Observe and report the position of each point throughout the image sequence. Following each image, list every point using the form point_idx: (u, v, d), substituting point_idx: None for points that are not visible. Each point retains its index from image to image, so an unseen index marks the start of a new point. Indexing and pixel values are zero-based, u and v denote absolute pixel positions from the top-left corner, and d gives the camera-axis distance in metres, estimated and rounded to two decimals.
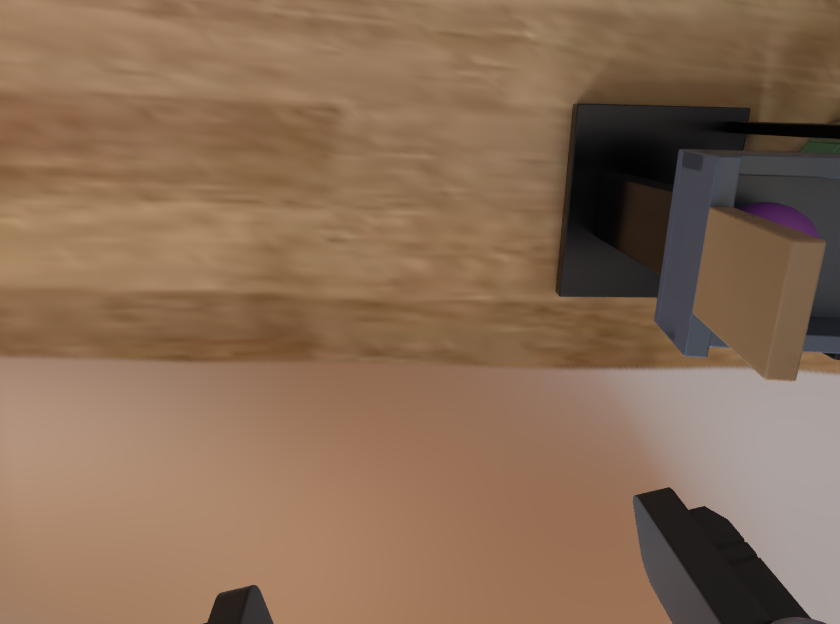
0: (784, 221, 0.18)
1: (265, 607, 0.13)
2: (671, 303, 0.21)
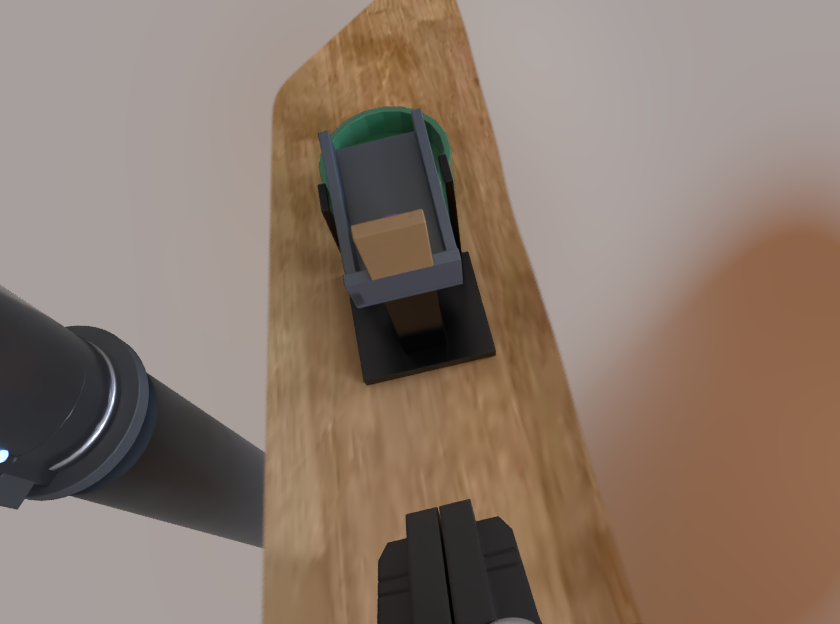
0: None
1: None
2: (440, 278, 0.33)
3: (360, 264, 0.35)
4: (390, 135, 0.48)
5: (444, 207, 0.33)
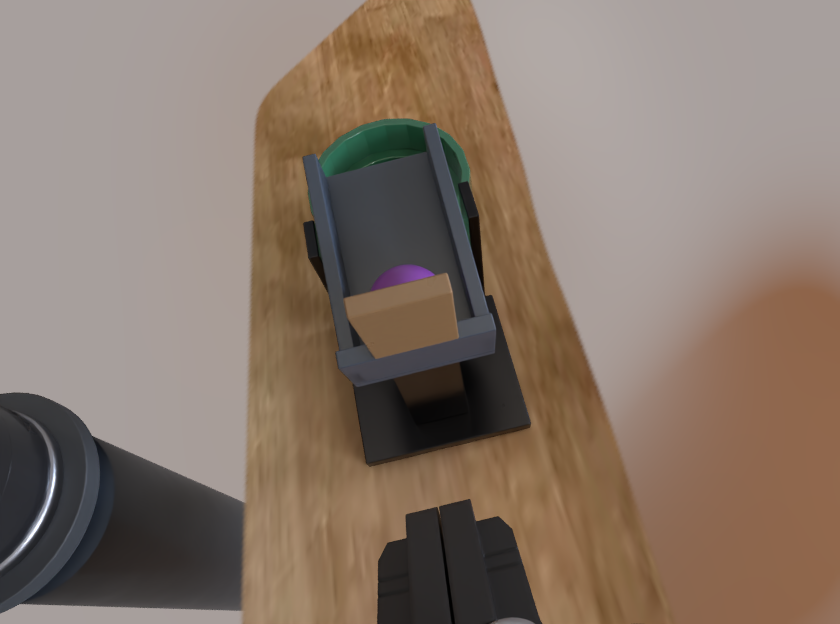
0: None
1: None
2: (467, 350, 0.25)
3: None
4: (394, 153, 0.40)
5: (470, 254, 0.25)
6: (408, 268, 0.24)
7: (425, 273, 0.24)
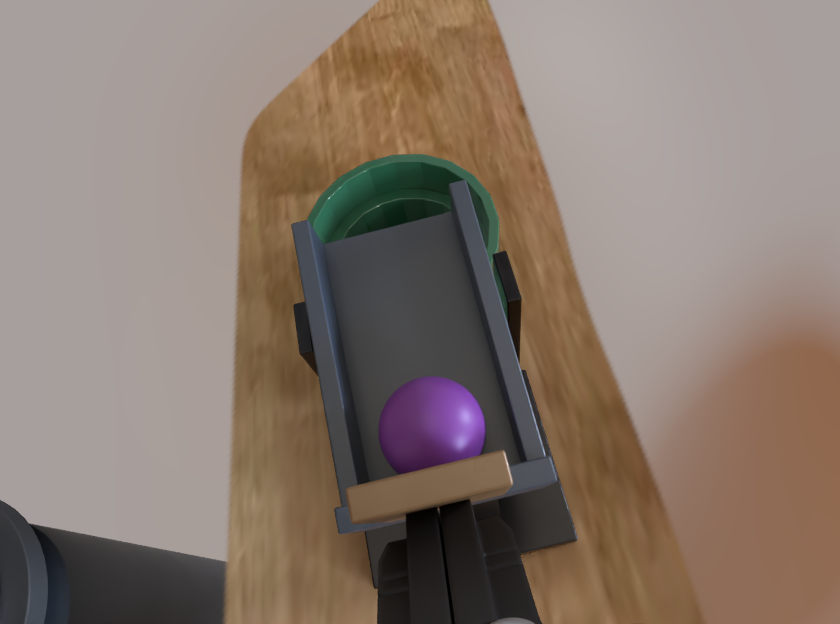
0: (388, 435, 0.18)
1: None
2: (512, 494, 0.18)
3: (366, 452, 0.20)
4: (405, 193, 0.33)
5: (515, 363, 0.19)
6: (434, 386, 0.18)
7: (456, 393, 0.18)
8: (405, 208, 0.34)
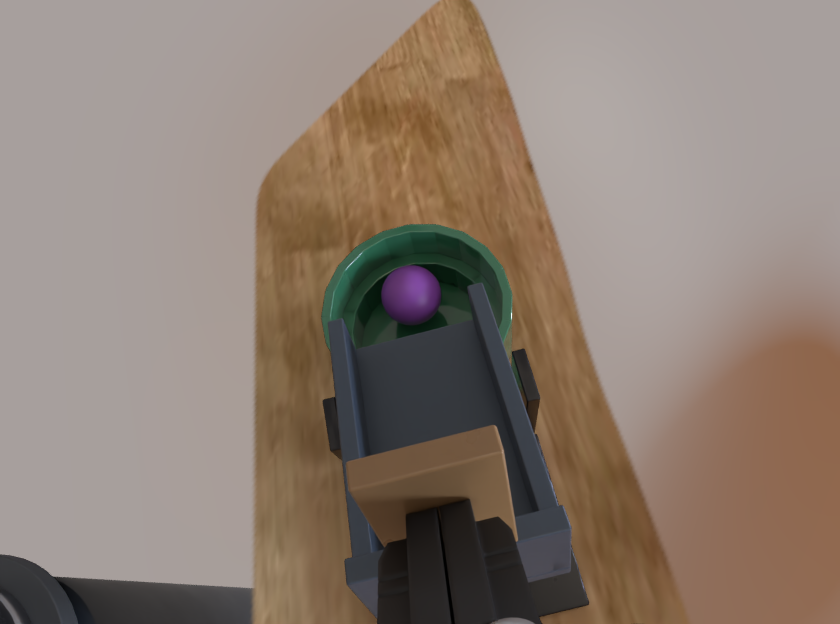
0: None
1: None
2: (531, 564, 0.17)
3: None
4: (419, 258, 0.34)
5: (529, 430, 0.19)
6: None
7: None
8: None
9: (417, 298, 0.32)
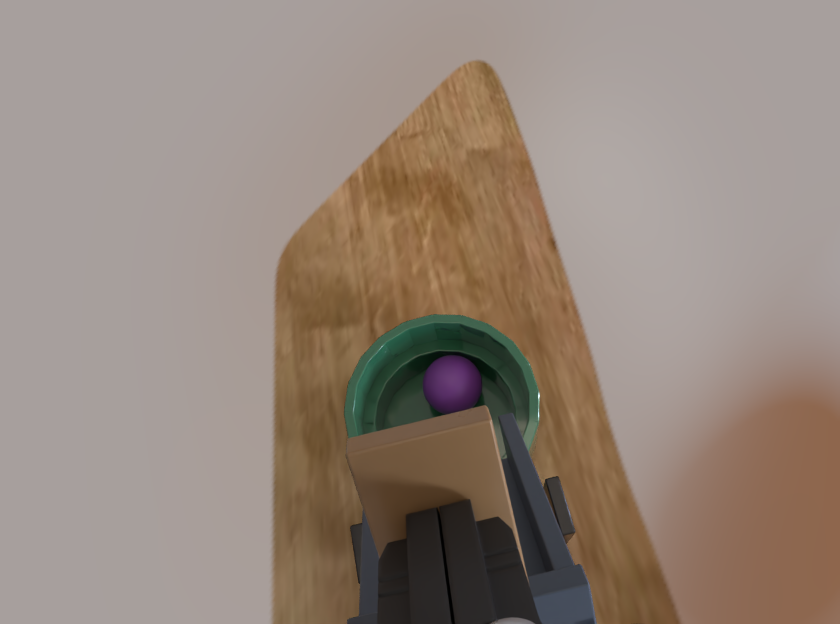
0: (438, 402, 0.32)
1: None
2: None
3: None
4: (442, 345, 0.34)
5: (553, 519, 0.19)
6: (473, 388, 0.32)
7: (479, 391, 0.33)
8: None
9: None
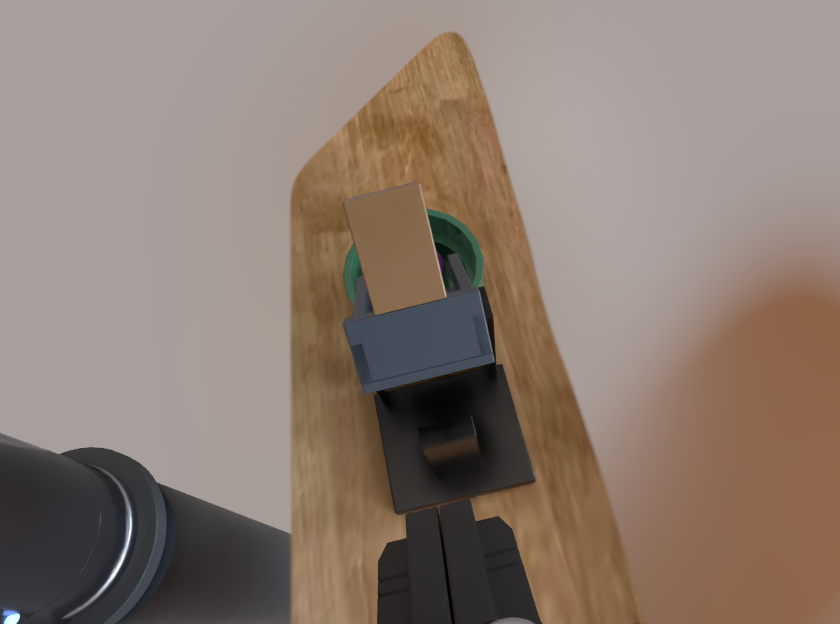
0: None
1: None
2: (462, 336, 0.27)
3: None
4: None
5: (470, 286, 0.30)
6: None
7: (443, 272, 0.44)
8: None
9: None
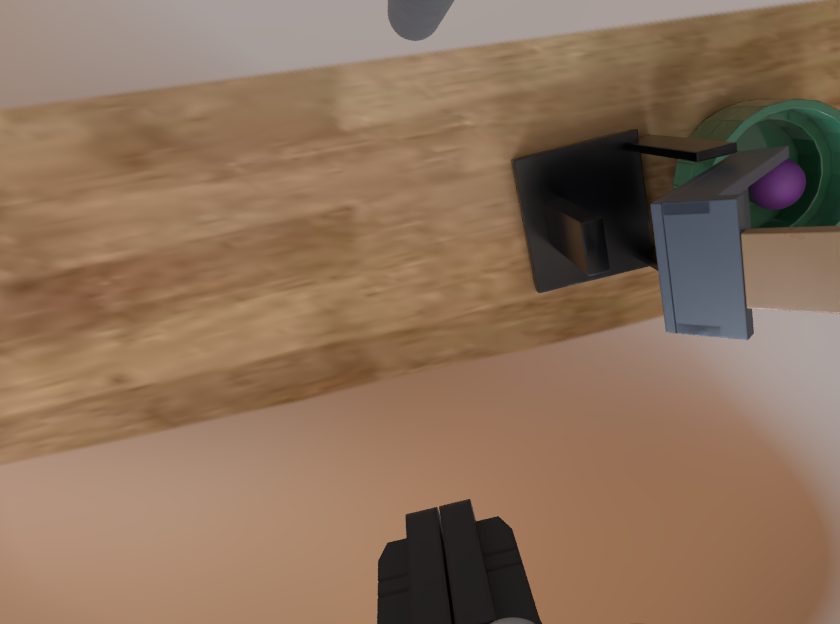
0: None
1: None
2: (699, 311, 0.27)
3: None
4: (826, 177, 0.39)
5: None
6: (765, 203, 0.39)
7: (764, 208, 0.40)
8: (812, 174, 0.39)
9: None
